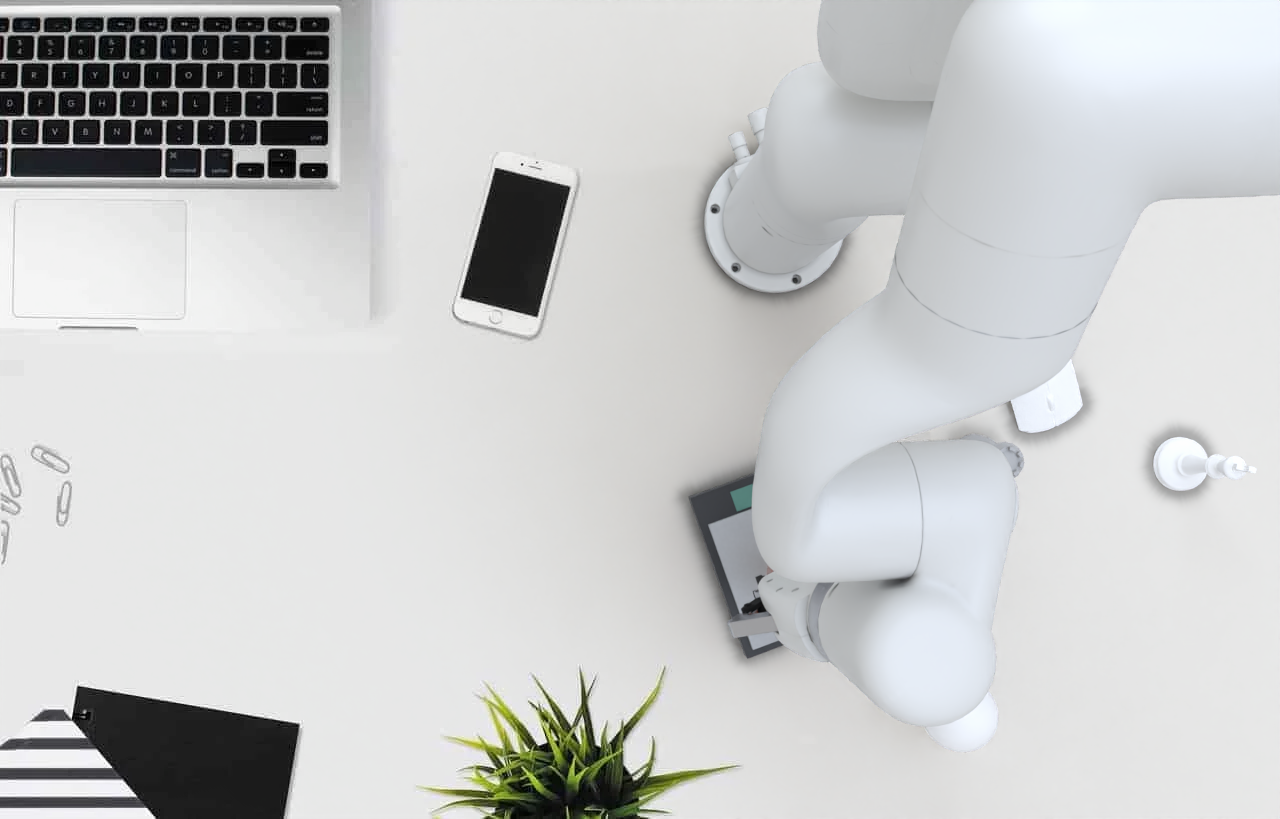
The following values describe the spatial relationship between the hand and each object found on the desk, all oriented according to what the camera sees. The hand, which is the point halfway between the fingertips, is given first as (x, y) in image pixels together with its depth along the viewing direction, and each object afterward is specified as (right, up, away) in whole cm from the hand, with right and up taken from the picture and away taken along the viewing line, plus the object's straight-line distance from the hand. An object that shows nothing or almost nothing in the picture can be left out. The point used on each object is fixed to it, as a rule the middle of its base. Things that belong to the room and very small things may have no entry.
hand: (807, 577), depth 81 cm
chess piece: (+36, +9, +10) cm, 38 cm away
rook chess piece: (+16, +9, +9) cm, 21 cm away
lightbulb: (+12, -11, +9) cm, 19 cm away
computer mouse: (+22, +18, +10) cm, 30 cm away
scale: (-1, +1, +8) cm, 8 cm away
